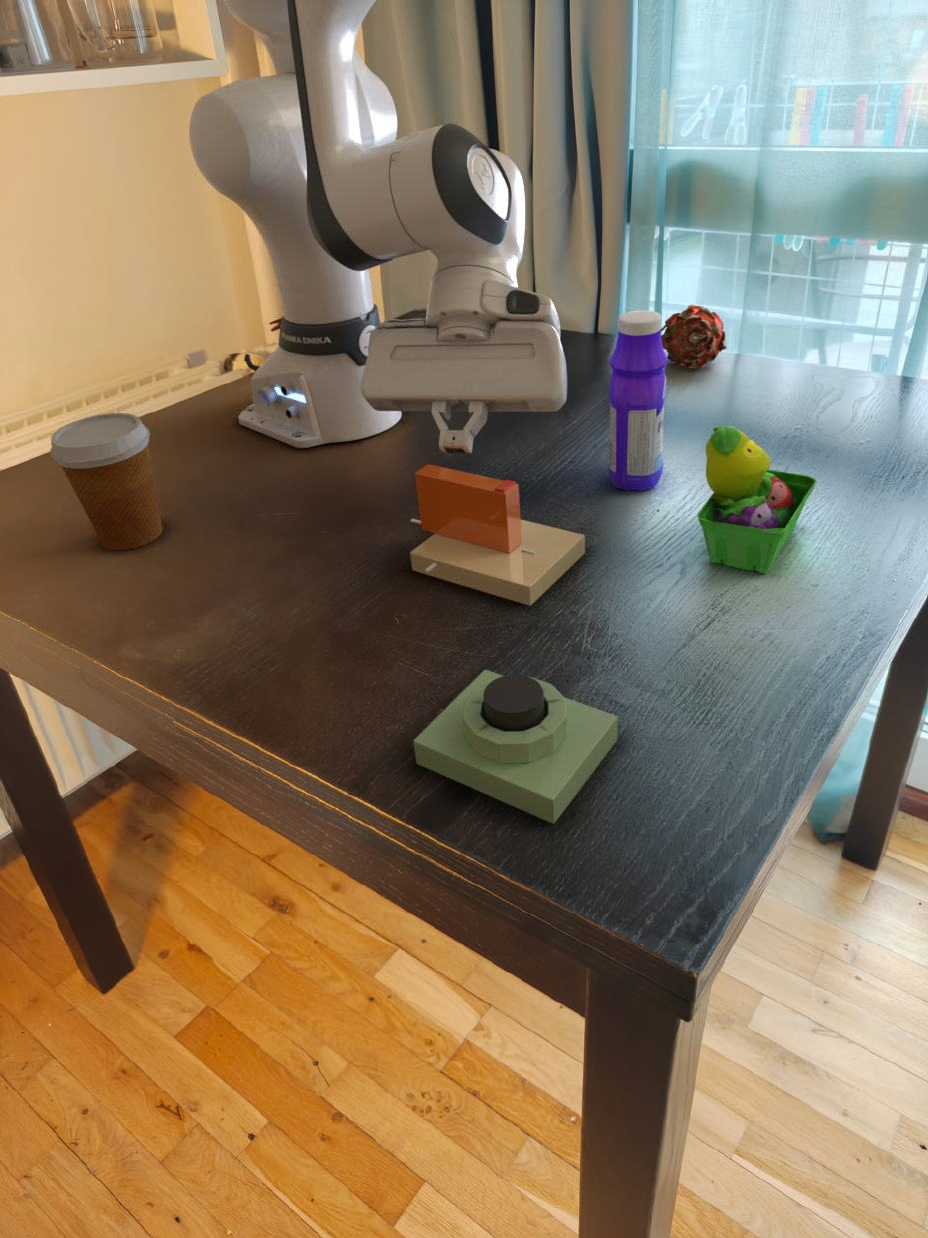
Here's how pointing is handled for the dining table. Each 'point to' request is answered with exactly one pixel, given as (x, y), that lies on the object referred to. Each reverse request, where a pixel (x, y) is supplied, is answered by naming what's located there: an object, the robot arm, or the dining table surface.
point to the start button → (514, 703)
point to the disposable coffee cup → (111, 476)
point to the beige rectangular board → (502, 562)
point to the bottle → (637, 402)
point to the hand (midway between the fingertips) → (455, 450)
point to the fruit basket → (748, 502)
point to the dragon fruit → (693, 337)
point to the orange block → (469, 507)
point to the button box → (519, 750)
